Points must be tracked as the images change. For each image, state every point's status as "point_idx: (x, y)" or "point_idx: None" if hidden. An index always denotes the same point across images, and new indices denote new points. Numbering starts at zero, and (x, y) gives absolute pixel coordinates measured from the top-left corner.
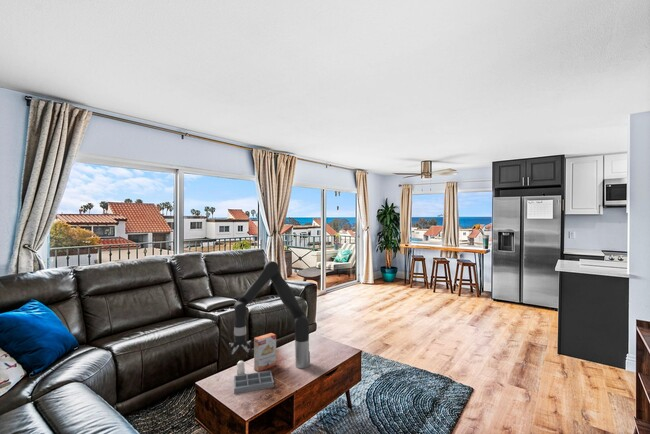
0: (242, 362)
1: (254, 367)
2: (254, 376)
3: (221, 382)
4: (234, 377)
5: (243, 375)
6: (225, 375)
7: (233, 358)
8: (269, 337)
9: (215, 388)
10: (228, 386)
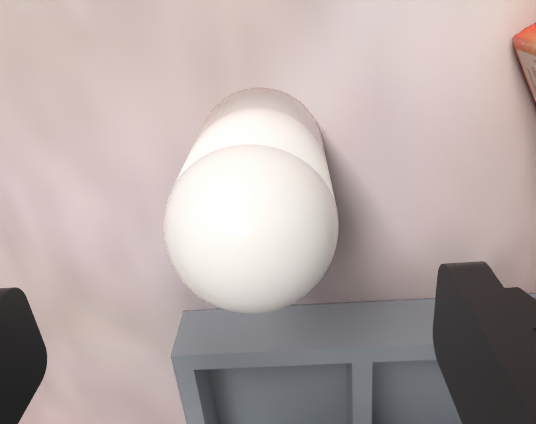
0: (296, 294)
1: (531, 58)
2: None
3: None
4: (184, 391)
5: (311, 362)
6: (10, 137)
7: (14, 403)
8: None
9: None
10: (140, 406)
